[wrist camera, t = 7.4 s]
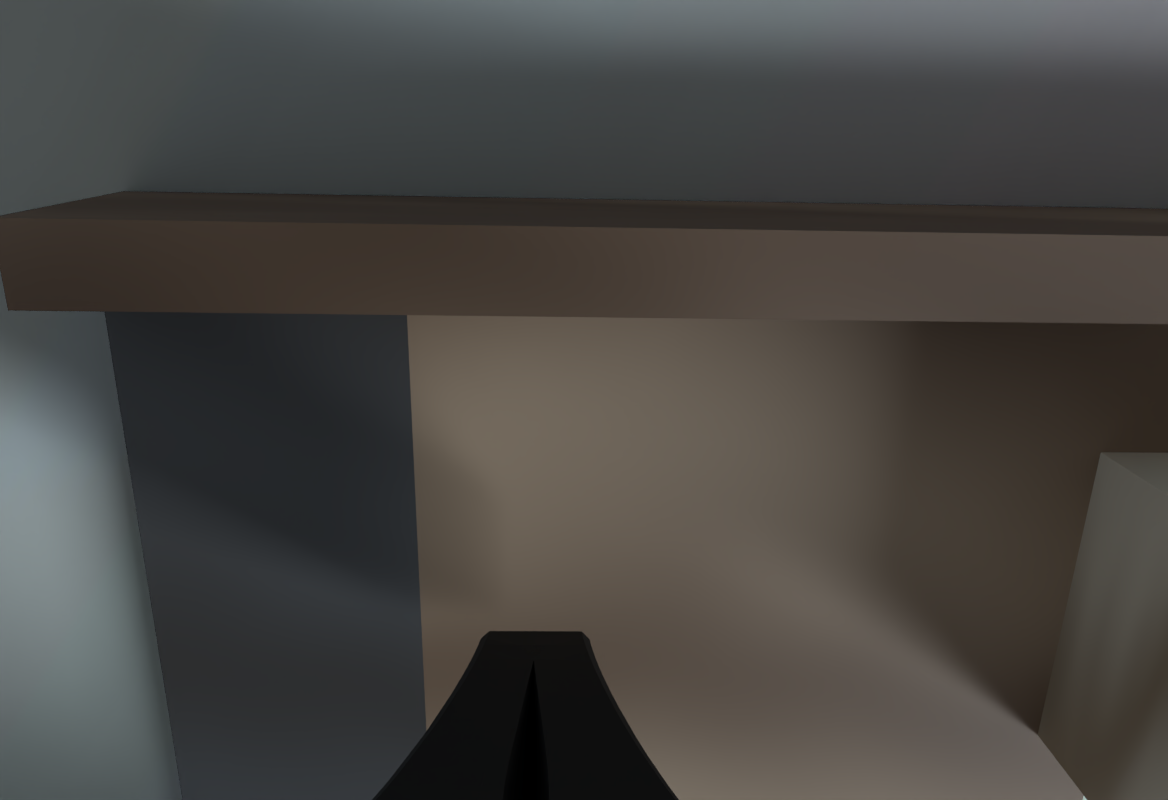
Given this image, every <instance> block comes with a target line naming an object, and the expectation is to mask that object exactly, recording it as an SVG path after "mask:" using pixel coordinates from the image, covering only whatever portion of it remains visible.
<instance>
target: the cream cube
mask: <svg viewBox="0 0 1168 800" xmlns="http://www.w3.org/2000/svg"><path fill="white" fill-rule="evenodd" d="M1038 736H1039V738H1040V739H1041V740H1042V741H1043V743H1044V744H1045V745H1046V747H1047V748H1048V749H1049V751H1050V752H1051V753H1052V755H1053V756H1054V757H1055V758H1056V760H1057V761H1058V762H1059V764H1060V765H1061V766H1062V768H1063V769H1064V770H1065V772H1066V773H1067V774H1068V775H1069V777H1070V778H1071V779H1072V781H1073V782H1074V783H1075V785H1076V786H1077V787H1078V789H1079V790H1080V791H1081V792H1082V794H1083V795H1084V796H1085V798H1086V799H1087V800H1168V453H1130V452H1101V454H1100V458H1099V463H1098V467H1097V472H1096V476H1095V481H1094V485H1093V489H1092V494H1091V498H1090V503H1089V507H1088V512H1087V516H1086V521H1085V525H1084V530H1083V534H1082V539H1081V543H1080V548H1079V552H1078V557H1077V561H1076V566H1075V570H1074V574H1073V579H1072V583H1071V588H1070V592H1069V597H1068V601H1067V606H1066V610H1065V615H1064V619H1063V624H1062V628H1061V633H1060V637H1059V642H1058V646H1057V651H1056V655H1055V660H1054V664H1053V668H1052V673H1051V677H1050V682H1049V686H1048V691H1047V695H1046V700H1045V704H1044V709H1043V713H1042V718H1041V722H1040V727H1039V731H1038Z"/></svg>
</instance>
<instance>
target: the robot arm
mask: <svg viewBox="0 0 1168 800" xmlns="http://www.w3.org/2000/svg"><path fill="white" fill-rule="evenodd" d="M372 800H679V799H678V798H677V797H676V795H675V794H674V792H673V791H672V790H671V788H670V787H669V786H668V784H667V783H666V781H665V780H664V779H663V777H662V776H661V774H660V773H659V771H658V770H657V768H656V767H655V765H654V764H653V763H652V761H651V760H650V758H649V757H648V755H647V754H646V752H645V750H644V749H643V747H642V746H641V744H640V742H639V741H638V739H637V738H636V736H635V734H634V733H633V731H632V729H631V727H630V726H629V724H628V722H627V720H626V719H625V717H624V715H623V714H622V712H621V710H620V708H619V707H618V705H617V703H616V701H615V699H614V697H613V695H612V693H611V691H610V689H609V687H608V685H607V683H606V681H605V679H604V677H603V675H602V672H601V670H600V668H599V665H598V663H597V661H596V658H595V655H594V652H593V649H592V646H591V643H590V639H589V638H588V637H587V636H586V635H585V634H584V633H583V632H582V631H489V632H488V633H487V634H486V635H484V636H483V637H482V638H481V639H480V642H479V644H478V647H477V649H476V651H475V653H474V655H473V657H472V659H471V661H470V663H469V665H468V667H467V668H466V670H465V672H464V674H463V675H462V677H461V679H460V680H459V682H458V684H457V685H456V687H455V689H454V690H453V692H452V694H451V695H450V697H449V698H448V700H447V701H446V703H445V704H444V706H443V707H442V709H441V710H440V712H439V713H438V715H437V716H436V718H435V719H434V721H433V722H432V724H431V725H430V727H429V728H428V730H427V731H426V732H425V734H424V735H423V737H422V738H421V739H420V741H419V742H418V743H417V745H416V746H415V747H414V748H413V750H412V751H411V752H410V754H409V755H408V756H407V757H406V759H405V760H404V761H403V763H402V764H401V765H400V767H399V768H398V769H397V770H396V772H395V773H394V774H393V776H392V777H391V778H390V779H389V781H388V782H387V783H386V784H385V785H384V787H383V788H382V789H381V790H380V791H379V792H378V794H377V795H376V796H375V797H374V798H373V799H372Z"/></svg>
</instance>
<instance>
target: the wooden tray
mask: <svg viewBox="0 0 1168 800" xmlns="http://www.w3.org/2000/svg"><path fill="white" fill-rule="evenodd" d="M0 271H1V276H2V281H3V286H4V291H5V296H6V301H7V306H8V310H25V311H105V317H106V323H107V330H108V336H109V342H110V348H111V355H112V361H113V367H114V373H115V380H116V386H117V392H118V398H119V405H120V411H121V417H122V423H123V430H124V436H125V442H126V448H127V455H128V461H129V467H130V473H131V480H132V486H133V492H134V498H135V505H136V511H137V517H138V523H139V530H140V536H141V542H142V548H143V555H144V561H145V567H146V573H147V580H148V586H149V592H150V598H151V605H152V611H153V617H154V623H155V630H156V636H157V642H158V648H159V655H160V661H161V667H162V673H163V680H164V686H165V692H166V698H167V705H168V711H169V717H170V723H171V730H172V736H173V742H174V748H175V755H176V761H177V767H178V773H179V780H180V786H181V792H182V798H183V800H372V799H373V798H374V797H375V796H376V795H377V794H378V792H379V791H380V790H381V789H382V788H383V787H384V785H385V784H386V783H387V782H388V781H389V779H390V778H391V777H392V776H393V774H394V773H395V772H396V770H397V769H398V768H399V767H400V765H401V764H402V763H403V761H404V760H405V759H406V757H407V756H408V755H409V754H410V752H411V751H412V750H413V748H414V747H415V746H416V745H417V743H418V742H419V741H420V739H421V738H422V737H423V735H424V734H425V732H426V731H427V730H428V728H429V727H430V725H431V724H432V722H433V721H434V719H435V718H436V716H437V715H438V713H439V712H440V710H441V709H442V707H443V706H444V704H445V703H446V701H447V700H448V698H449V697H450V695H451V694H452V692H453V690H454V689H455V687H456V685H457V684H458V682H459V680H460V679H461V677H462V675H463V674H464V672H465V670H466V668H467V667H468V665H469V663H470V661H471V659H472V657H473V655H474V653H475V651H476V649H477V647H478V644H479V642H480V639H481V638H482V637H483V636H484V635H486V634H487V633H488V632H489V631H582V632H583V633H584V634H585V635H586V636H587V637H588V638H589V639H590V643H591V646H592V649H593V652H594V655H595V658H596V661H597V663H598V665H599V668H600V670H601V672H602V675H603V677H604V679H605V681H606V683H607V685H608V687H609V689H610V691H611V693H612V695H613V697H614V699H615V701H616V703H617V705H618V707H619V708H620V710H621V712H622V714H623V715H624V717H625V719H626V720H627V722H628V724H629V726H630V727H631V729H632V731H633V733H634V734H635V736H636V738H637V739H638V741H639V742H640V744H641V746H642V747H643V749H644V750H645V752H646V754H647V755H648V757H649V758H650V760H651V761H652V763H653V764H654V765H655V767H656V768H657V770H658V771H659V773H660V774H661V776H662V777H663V779H664V780H665V781H666V783H667V784H668V786H669V787H670V788H671V790H672V791H673V792H674V794H675V795H676V797H677V798H678V799H679V800H1087V799H1086V798H1085V796H1084V795H1083V794H1082V792H1081V791H1080V790H1079V789H1078V787H1077V786H1076V785H1075V783H1074V782H1073V781H1072V779H1071V778H1070V777H1069V775H1068V774H1067V773H1066V772H1065V770H1064V769H1063V768H1062V766H1061V765H1060V764H1059V762H1058V761H1057V760H1056V758H1055V757H1054V756H1053V755H1052V753H1051V752H1050V751H1049V749H1048V748H1047V747H1046V745H1045V744H1044V743H1043V741H1042V740H1041V739H1040V738H1039V736H1038V731H1039V727H1040V722H1041V718H1042V713H1043V709H1044V704H1045V700H1046V695H1047V691H1048V686H1049V682H1050V677H1051V673H1052V668H1053V664H1054V660H1055V655H1056V651H1057V646H1058V642H1059V637H1060V633H1061V628H1062V624H1063V619H1064V615H1065V610H1066V606H1067V601H1068V597H1069V592H1070V588H1071V583H1072V579H1073V574H1074V570H1075V566H1076V561H1077V557H1078V552H1079V548H1080V543H1081V539H1082V534H1083V530H1084V525H1085V521H1086V516H1087V512H1088V507H1089V503H1090V498H1091V494H1092V489H1093V485H1094V481H1095V476H1096V472H1097V467H1098V463H1099V458H1100V454H1101V452H1130V453H1168V209H1149V208H1089V207H1030V206H970V205H910V204H850V203H791V202H731V201H671V200H611V199H552V198H492V197H432V196H372V195H312V194H253V193H193V192H133V191H123V192H118V193H113V194H107V195H102V196H97V197H92V198H87V199H82V200H77V201H72V202H67V203H62V204H57V205H52V206H47V207H42V208H37V209H32V210H27V211H22V212H17V213H12V214H7V215H2V216H0Z"/></svg>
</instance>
